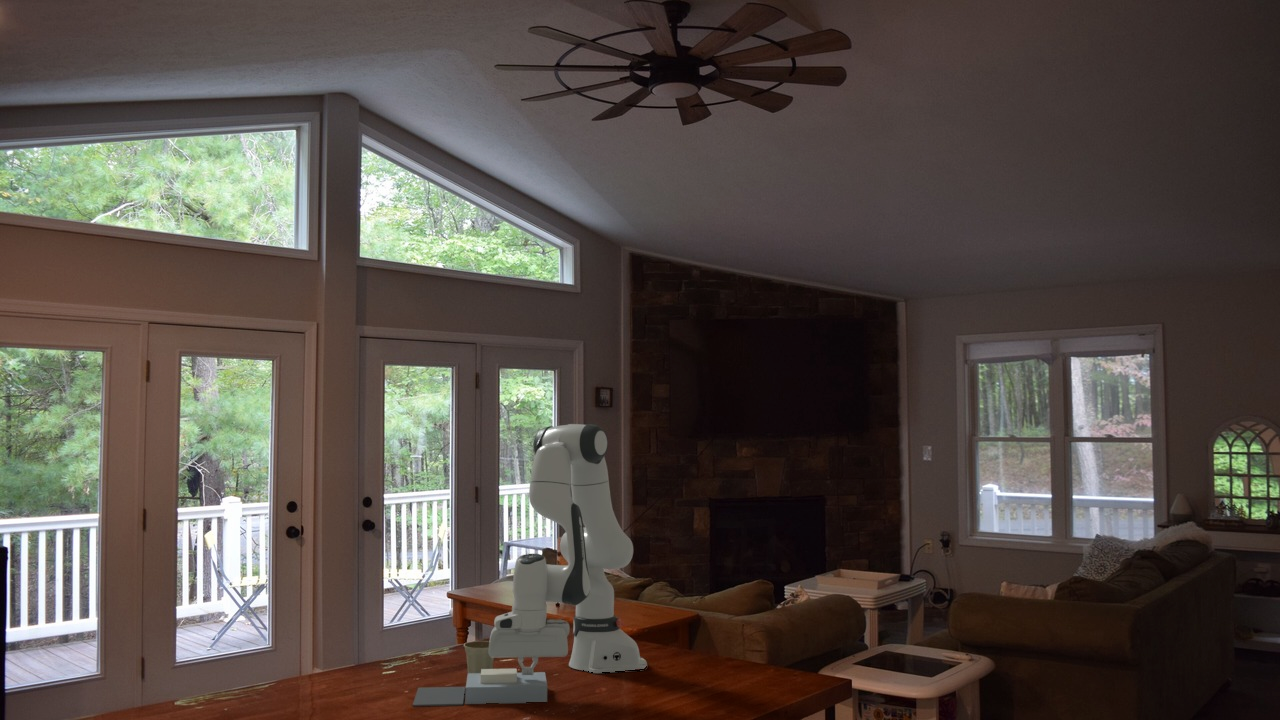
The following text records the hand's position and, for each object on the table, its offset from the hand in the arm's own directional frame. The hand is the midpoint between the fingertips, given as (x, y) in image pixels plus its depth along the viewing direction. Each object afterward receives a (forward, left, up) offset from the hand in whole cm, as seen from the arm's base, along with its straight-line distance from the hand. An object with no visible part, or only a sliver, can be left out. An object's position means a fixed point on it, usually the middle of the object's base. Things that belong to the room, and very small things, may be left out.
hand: (527, 674), depth 246 cm
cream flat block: (+7, 0, -1) cm, 7 cm away
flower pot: (+12, -20, -5) cm, 24 cm away
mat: (+22, 0, -5) cm, 22 cm away
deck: (+5, 0, -5) cm, 7 cm away
